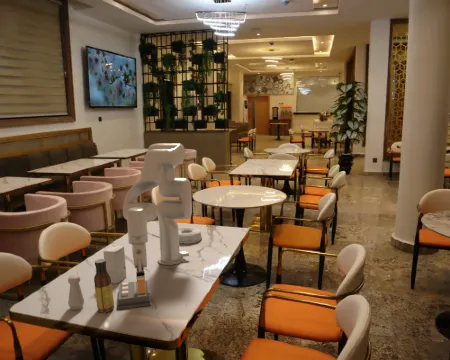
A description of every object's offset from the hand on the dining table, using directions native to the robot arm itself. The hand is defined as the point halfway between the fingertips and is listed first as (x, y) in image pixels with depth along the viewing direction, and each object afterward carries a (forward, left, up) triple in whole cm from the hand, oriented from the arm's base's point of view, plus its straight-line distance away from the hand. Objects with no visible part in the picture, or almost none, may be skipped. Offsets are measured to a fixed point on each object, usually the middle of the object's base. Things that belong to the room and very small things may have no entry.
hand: (141, 281), depth 160 cm
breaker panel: (+3, -1, -7) cm, 7 cm away
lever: (0, +3, -3) cm, 5 cm away
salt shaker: (+25, +3, -7) cm, 26 cm away
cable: (-28, -67, -7) cm, 73 cm away
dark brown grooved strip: (+3, +8, -7) cm, 11 cm away
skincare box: (+11, -20, -7) cm, 24 cm away
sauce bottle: (+14, +7, -7) cm, 17 cm away
